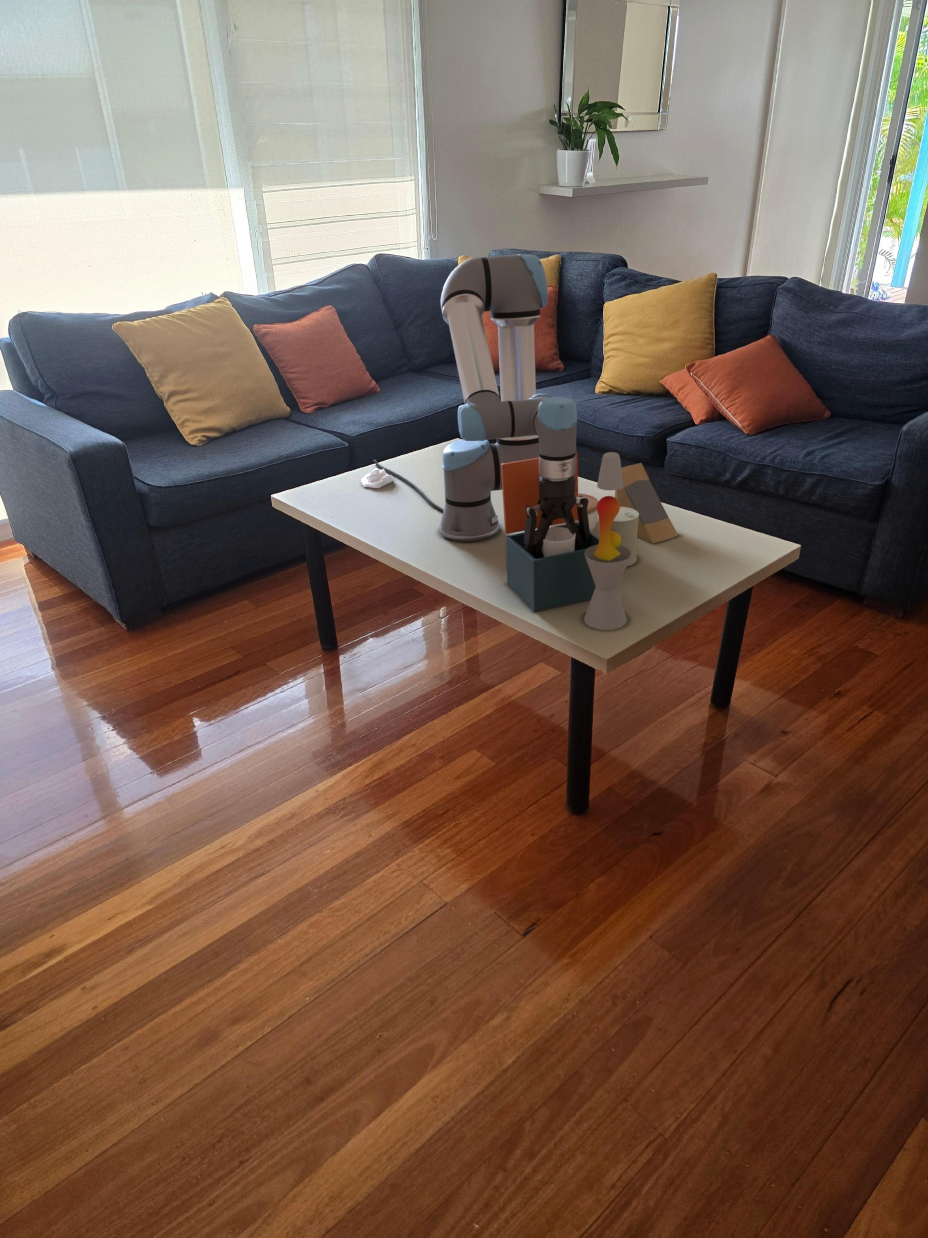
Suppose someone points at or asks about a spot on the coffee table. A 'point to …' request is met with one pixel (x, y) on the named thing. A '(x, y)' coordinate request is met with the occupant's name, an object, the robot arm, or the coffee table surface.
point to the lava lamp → (607, 554)
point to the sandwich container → (644, 505)
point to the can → (627, 530)
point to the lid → (524, 493)
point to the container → (549, 574)
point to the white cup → (558, 541)
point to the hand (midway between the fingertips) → (556, 575)
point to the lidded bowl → (589, 511)
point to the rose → (376, 479)
